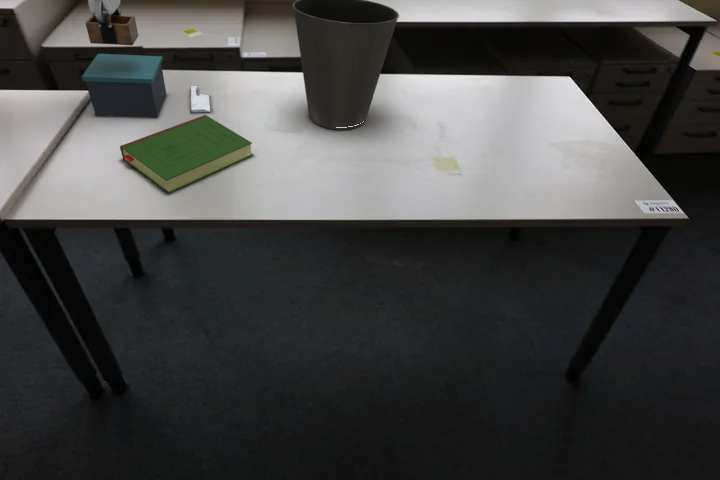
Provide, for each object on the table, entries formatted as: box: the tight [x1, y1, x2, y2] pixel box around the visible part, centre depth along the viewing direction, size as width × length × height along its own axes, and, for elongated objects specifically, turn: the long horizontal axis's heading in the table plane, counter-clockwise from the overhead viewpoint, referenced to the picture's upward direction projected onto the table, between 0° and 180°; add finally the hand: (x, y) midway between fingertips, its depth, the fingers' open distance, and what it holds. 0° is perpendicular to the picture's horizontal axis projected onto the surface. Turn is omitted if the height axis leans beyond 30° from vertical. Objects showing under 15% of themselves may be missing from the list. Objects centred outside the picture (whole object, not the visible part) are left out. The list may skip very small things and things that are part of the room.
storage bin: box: [81, 53, 167, 119], centre depth 141 cm, size 17×15×11 cm
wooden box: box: [85, 14, 139, 46], centre depth 129 cm, size 10×6×5 cm, turn 95°
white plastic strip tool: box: [190, 85, 211, 113], centre depth 149 cm, size 5×15×1 cm, turn 14°
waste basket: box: [292, 0, 400, 131], centre depth 140 cm, size 27×20×30 cm
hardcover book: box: [119, 114, 254, 194], centre depth 126 cm, size 25×19×4 cm
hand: (114, 36), depth 130 cm, fingers closed on wooden box, 6 cm apart
